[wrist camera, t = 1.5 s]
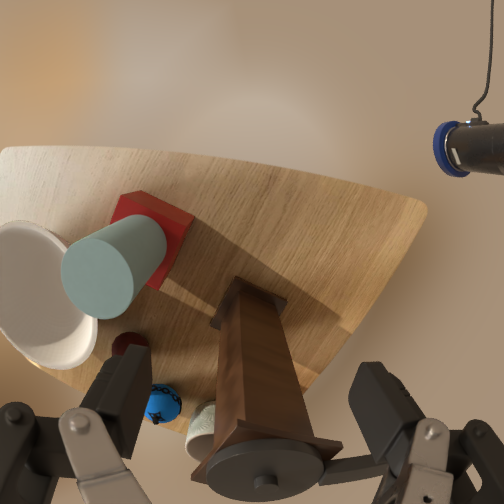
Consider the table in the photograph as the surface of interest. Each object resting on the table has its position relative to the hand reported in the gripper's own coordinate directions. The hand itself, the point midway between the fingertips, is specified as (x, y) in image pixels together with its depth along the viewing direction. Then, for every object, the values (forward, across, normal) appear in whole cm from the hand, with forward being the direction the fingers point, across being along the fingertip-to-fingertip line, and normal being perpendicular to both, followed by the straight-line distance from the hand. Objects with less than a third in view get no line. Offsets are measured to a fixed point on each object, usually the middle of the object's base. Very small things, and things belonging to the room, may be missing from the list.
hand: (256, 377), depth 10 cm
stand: (+38, -3, +16) cm, 41 cm away
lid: (+6, -7, +16) cm, 19 cm away
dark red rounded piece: (+38, +17, +26) cm, 49 cm away
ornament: (+38, +12, +37) cm, 55 cm away
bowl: (+38, +34, +15) cm, 53 cm away
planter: (+38, 0, +43) cm, 57 cm away
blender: (+38, +13, +4) cm, 40 cm away
